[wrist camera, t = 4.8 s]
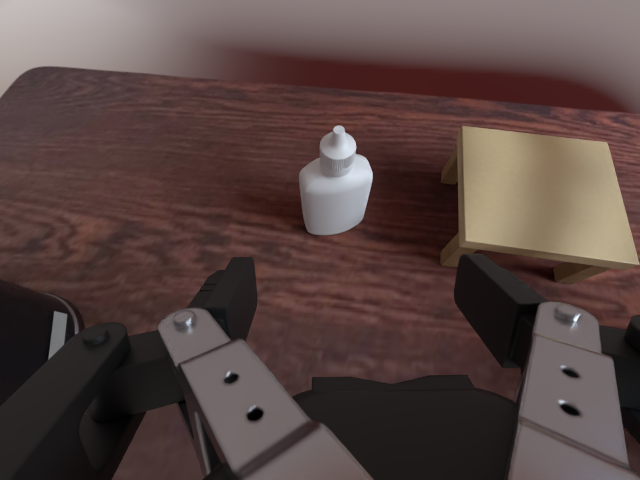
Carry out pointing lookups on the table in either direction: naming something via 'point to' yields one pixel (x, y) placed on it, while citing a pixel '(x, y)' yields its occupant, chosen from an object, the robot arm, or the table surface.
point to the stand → (539, 201)
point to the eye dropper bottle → (335, 186)
